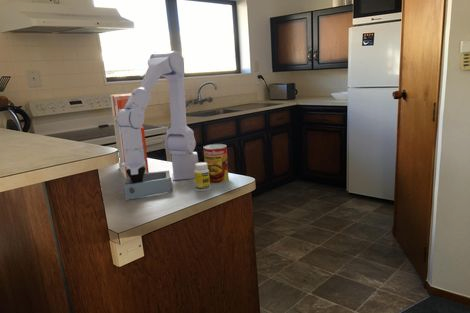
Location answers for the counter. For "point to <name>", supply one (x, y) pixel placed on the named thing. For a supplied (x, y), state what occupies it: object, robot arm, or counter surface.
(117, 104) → the pasta box
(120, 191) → the counter surface
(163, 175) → the housing
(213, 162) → the canned food
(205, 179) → the supplement bottle
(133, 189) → the door
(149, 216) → the counter surface
